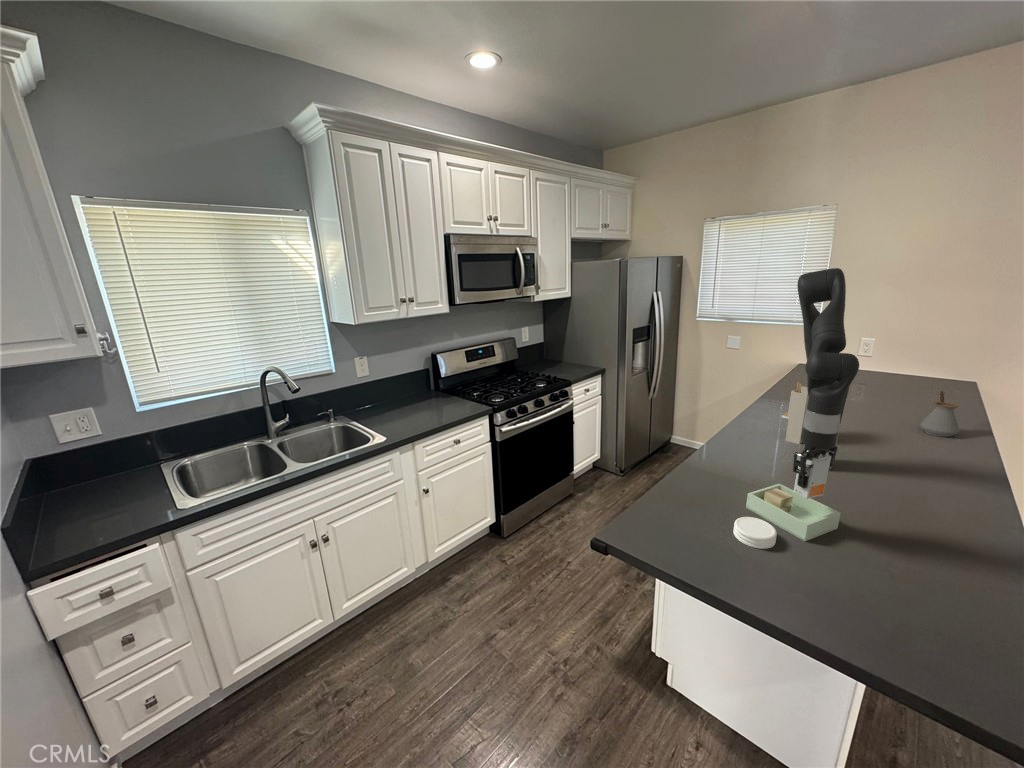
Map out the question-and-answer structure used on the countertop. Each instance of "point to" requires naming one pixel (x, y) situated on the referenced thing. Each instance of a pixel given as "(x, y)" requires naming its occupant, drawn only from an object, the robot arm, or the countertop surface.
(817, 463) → the skincare box
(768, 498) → the maple cube
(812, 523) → the tote
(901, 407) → the countertop surface
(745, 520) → the white round ribbed disc
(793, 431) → the tall cream panel
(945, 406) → the coffee pot
